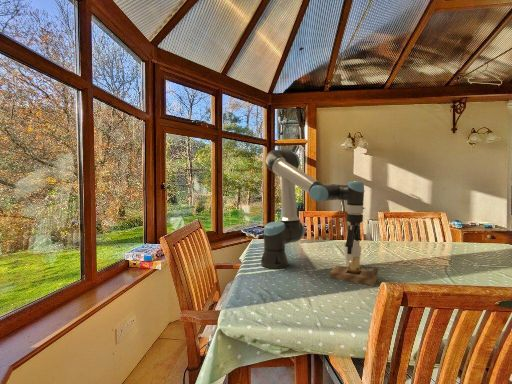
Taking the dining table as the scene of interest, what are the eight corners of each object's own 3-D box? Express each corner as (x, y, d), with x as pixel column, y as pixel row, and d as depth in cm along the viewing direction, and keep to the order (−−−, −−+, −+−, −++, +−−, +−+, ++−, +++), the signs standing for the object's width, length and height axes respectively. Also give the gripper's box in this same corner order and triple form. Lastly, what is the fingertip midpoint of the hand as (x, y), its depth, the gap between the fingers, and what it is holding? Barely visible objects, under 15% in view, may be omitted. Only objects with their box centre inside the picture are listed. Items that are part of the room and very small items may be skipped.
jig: (329, 277, 140) (329, 267, 140) (336, 270, 150) (336, 261, 150) (373, 286, 130) (373, 275, 130) (377, 277, 140) (377, 267, 140)
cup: (349, 269, 153) (350, 246, 153) (340, 264, 162) (340, 243, 161) (364, 267, 156) (364, 245, 155) (354, 262, 164) (354, 242, 164)
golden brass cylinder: (347, 278, 139) (347, 258, 139) (349, 275, 144) (350, 255, 143) (358, 280, 137) (358, 259, 136) (360, 277, 141) (360, 257, 140)
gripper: (357, 217, 126) (355, 265, 127) (367, 211, 147) (366, 252, 149) (339, 216, 130) (338, 262, 131) (352, 210, 151) (351, 249, 152)
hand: (353, 256), depth 140 cm, fingers open, 13 cm apart
